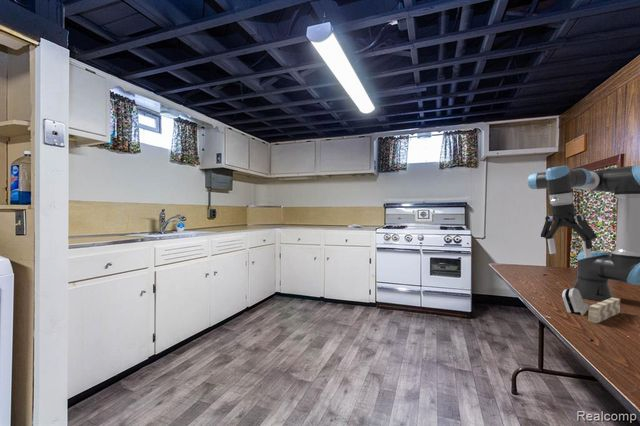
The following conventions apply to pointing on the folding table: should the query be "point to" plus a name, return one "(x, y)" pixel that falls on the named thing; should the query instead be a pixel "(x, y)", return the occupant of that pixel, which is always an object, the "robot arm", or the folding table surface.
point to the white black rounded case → (574, 301)
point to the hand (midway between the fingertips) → (569, 255)
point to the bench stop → (603, 310)
